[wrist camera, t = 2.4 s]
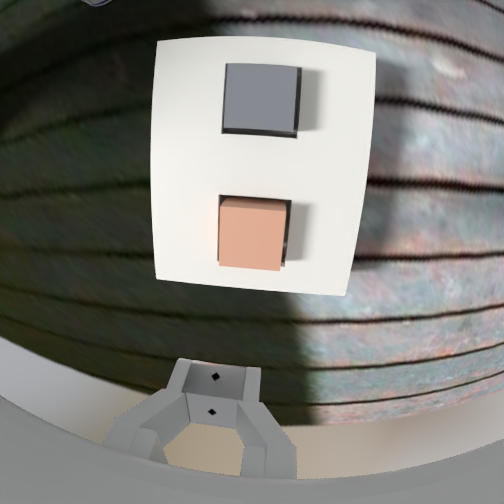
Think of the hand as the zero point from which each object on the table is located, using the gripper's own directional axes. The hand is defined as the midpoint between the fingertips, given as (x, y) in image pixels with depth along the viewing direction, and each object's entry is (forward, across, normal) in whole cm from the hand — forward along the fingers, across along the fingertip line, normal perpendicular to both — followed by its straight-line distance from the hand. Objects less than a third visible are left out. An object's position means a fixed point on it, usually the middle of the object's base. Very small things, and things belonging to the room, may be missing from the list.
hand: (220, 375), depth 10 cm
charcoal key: (+18, 0, -11) cm, 21 cm away
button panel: (+21, 0, -6) cm, 22 cm away
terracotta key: (+18, 0, 0) cm, 18 cm away
